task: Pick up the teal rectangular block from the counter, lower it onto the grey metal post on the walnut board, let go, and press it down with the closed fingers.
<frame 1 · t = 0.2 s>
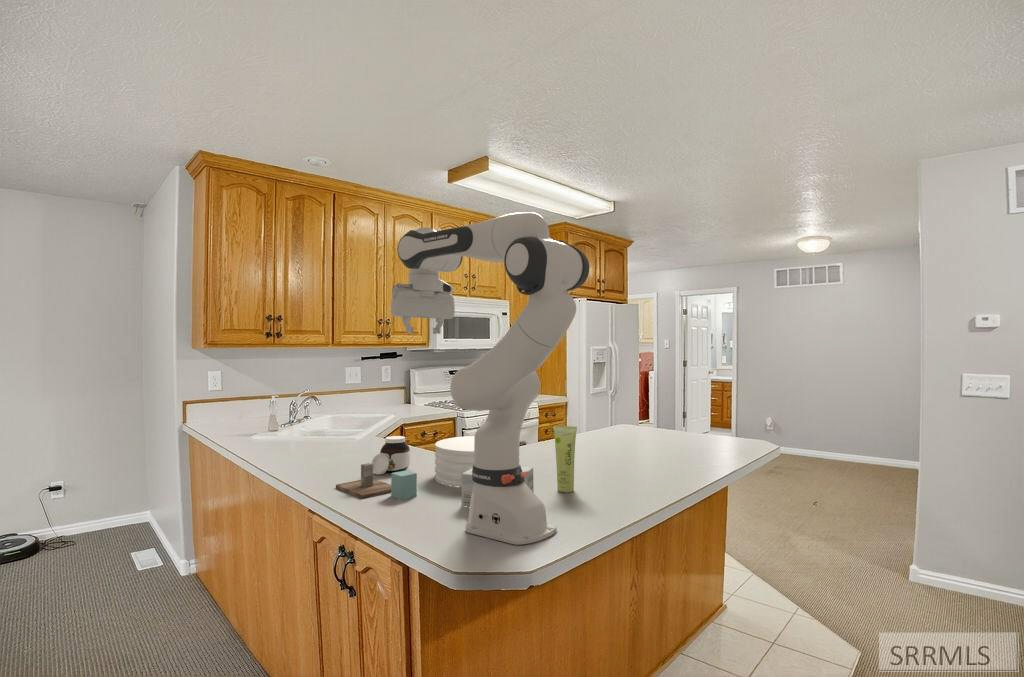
hand: (423, 333, 151), 47 cm above the counter, tool pointing down, fingers open, 8 cm apart
spread jar: (390, 472, 180), on the counter
teal rectangular block: (403, 496, 151), on the counter
post stand: (366, 489, 158), on the counter
plate stack: (477, 478, 174), on the counter
supplement box: (498, 504, 145), on the counter
tube: (565, 491, 158), on the counter
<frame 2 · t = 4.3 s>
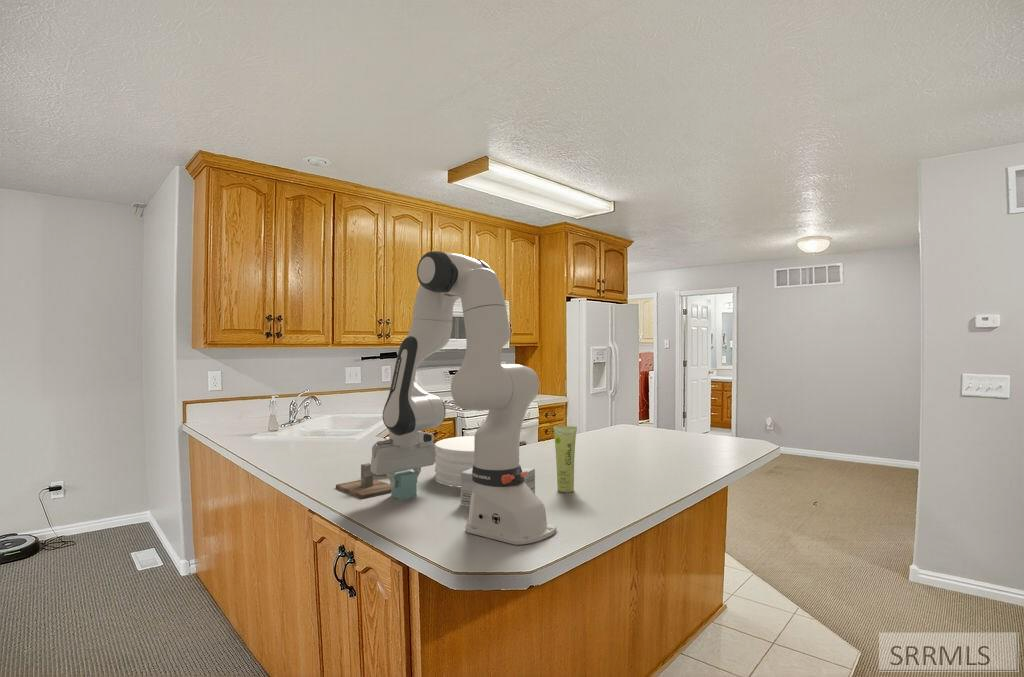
hand: (404, 485, 151), 3 cm above the counter, tool pointing down, fingers closed on teal rectangular block, 5 cm apart
teal rectangular block: (403, 496, 151), on the counter, touching gripper
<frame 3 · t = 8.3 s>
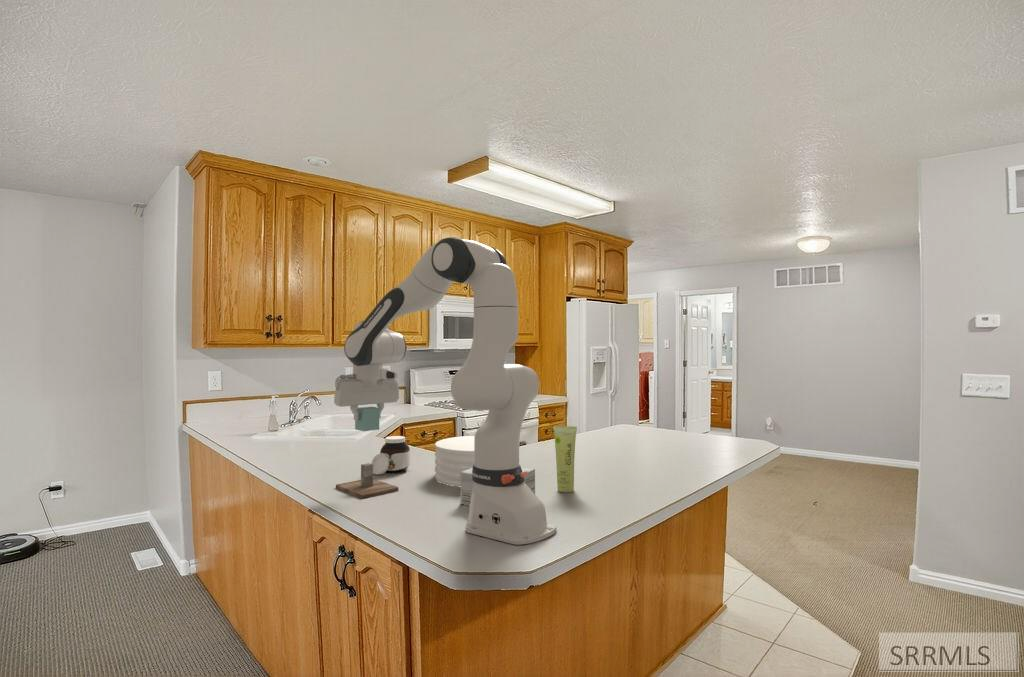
hand: (367, 419, 159), 21 cm above the counter, tool pointing down, fingers closed on teal rectangular block, 5 cm apart
teal rectangular block: (367, 429, 159), point 18 cm above the counter, touching gripper
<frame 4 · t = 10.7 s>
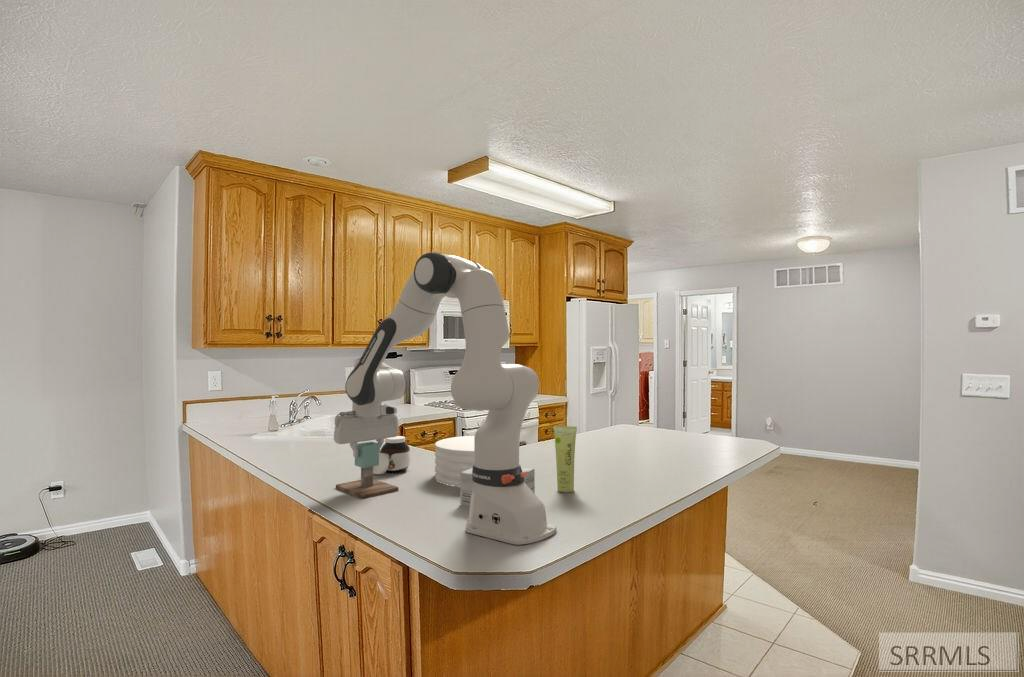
hand: (366, 455, 159), 10 cm above the counter, tool pointing down, fingers closed on teal rectangular block, 5 cm apart
teal rectangular block: (366, 465, 159), point 7 cm above the counter, touching gripper
everything else where it was.
when the fingers open (6 cm above the counter, at t = 12.8 s): teal rectangular block drops 1 cm, resting on post stand.
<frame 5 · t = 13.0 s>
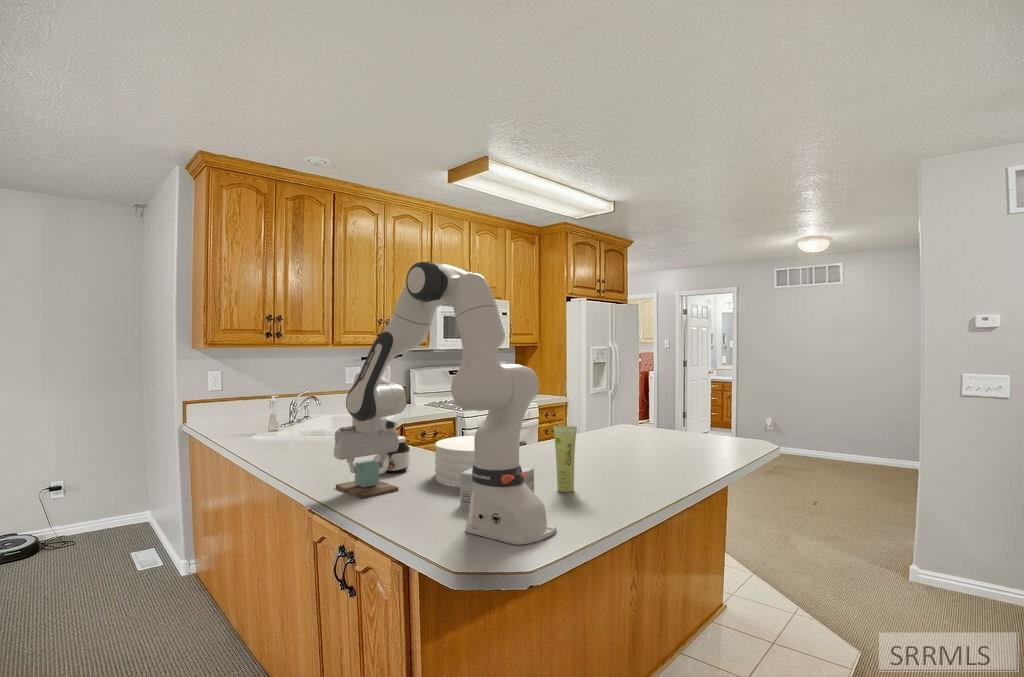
hand: (367, 470, 158), 6 cm above the counter, tool pointing down, fingers open, 7 cm apart
teal rectangular block: (366, 484, 158), point 1 cm above the counter, touching post stand
everything else where it was.
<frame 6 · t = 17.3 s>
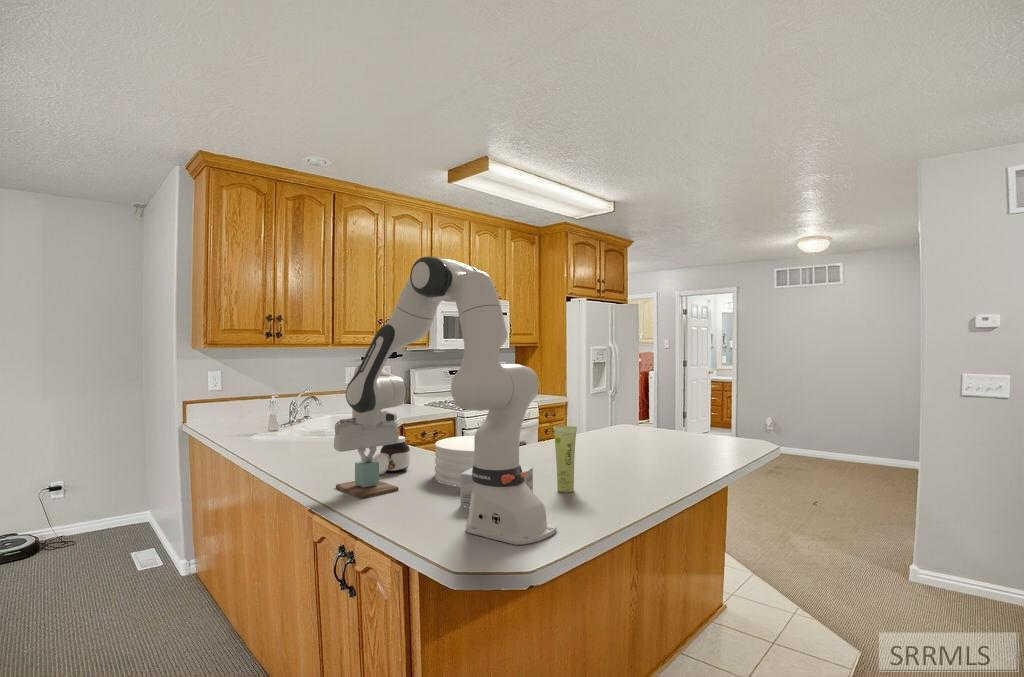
hand: (367, 462, 159), 8 cm above the counter, tool pointing down, fingers closed, pressing on teal rectangular block
teal rectangular block: (366, 484, 158), point 1 cm above the counter, touching gripper, post stand
everything else where it was.
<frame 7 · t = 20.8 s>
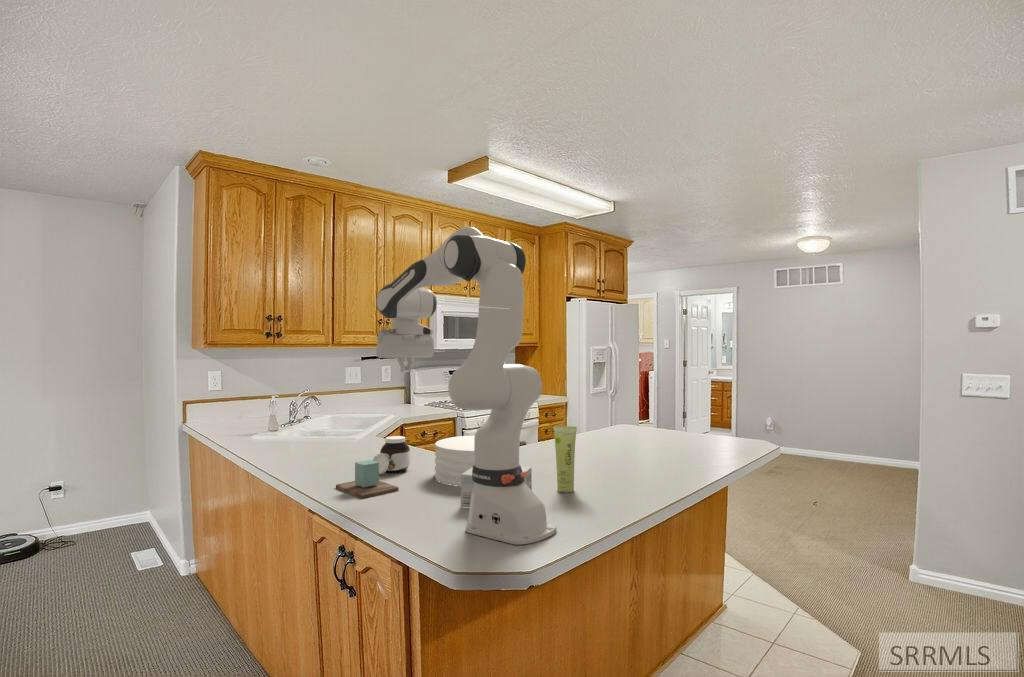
hand: (405, 371, 171), 35 cm above the counter, tool pointing down, fingers closed
teal rectangular block: (366, 484, 158), point 1 cm above the counter, touching post stand
everything else where it was.
at the end: teal rectangular block 0.0 cm from the post stand (horizontally); teal rectangular block point 1.5 cm above the counter; teal rectangular block tilted 0° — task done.
